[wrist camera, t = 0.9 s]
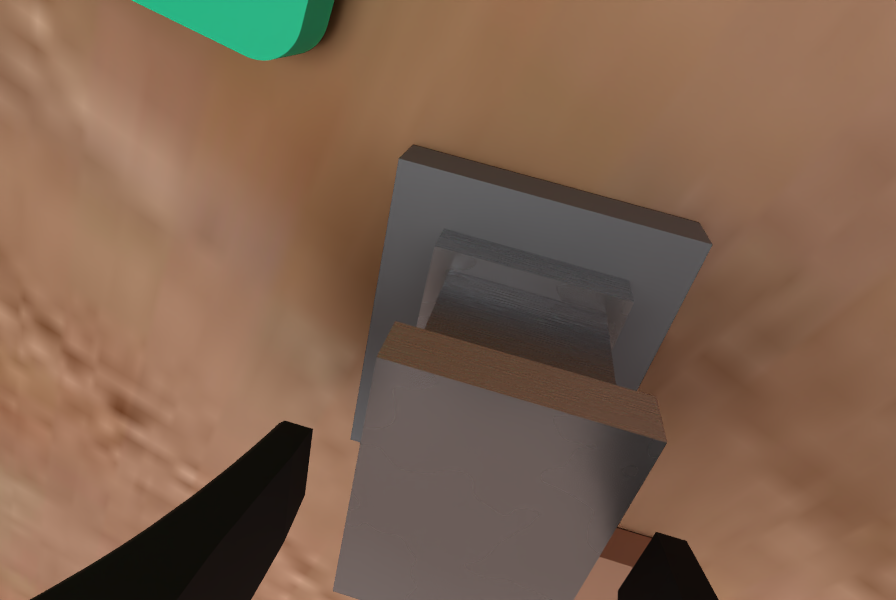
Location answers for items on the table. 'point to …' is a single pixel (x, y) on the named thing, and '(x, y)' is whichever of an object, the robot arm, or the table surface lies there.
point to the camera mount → (252, 23)
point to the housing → (496, 434)
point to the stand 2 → (613, 566)
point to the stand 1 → (531, 248)
